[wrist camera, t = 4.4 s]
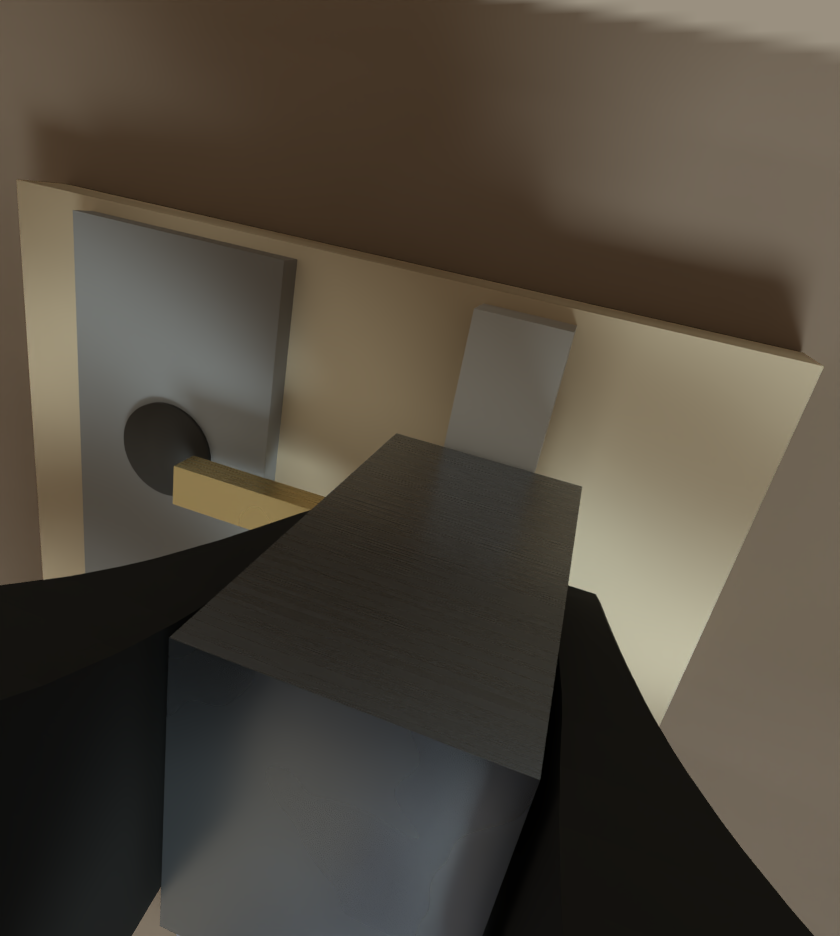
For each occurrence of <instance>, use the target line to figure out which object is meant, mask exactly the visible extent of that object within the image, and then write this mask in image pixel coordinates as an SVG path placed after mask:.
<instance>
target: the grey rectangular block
mask: <svg viewBox="0 0 840 936" xmlns="http://www.w3.org/2000/svg"><path fill="white" fill-rule="evenodd" d="M581 492H582V486H579V485H575V484H572V483H568V482H565V481H561V480H558V479H554V478H551V477H547V476H544V475H540V474H537V473H533V472H530V471H526V470H523V469H519V468H516V467H512V466H509V465H505V464H502V463H498V462H495V461H492V460H488V459H485V458H481V457H478V456H474V455H471V454H467V453H464V452H460V451H457V450H453V449H450V448H446V447H443V446H439V445H436V444H432V443H429V442H425V441H422V440H418V439H415V438H411V437H408V436H404V435H401V434H397V433H396V434H395V435H394V436H393V437H392V438H390V439H389V440H388V441H387V442H386V443H385V444H384V445H383V446H382V447H380V448H379V449H378V450H377V451H376V452H375V453H374V454H373V455H372V456H370V457H369V458H368V459H367V460H366V461H365V462H364V463H363V464H362V465H360V466H359V467H358V468H357V469H356V470H355V471H354V472H353V473H352V474H350V475H349V476H348V477H347V478H346V479H345V480H344V481H343V482H342V483H340V484H339V485H338V486H337V487H336V488H335V489H334V490H333V491H332V492H330V493H329V494H328V495H327V496H326V497H324V496H320V495H317V494H314V493H311V492H308V491H305V490H301V489H298V488H295V487H292V486H289V485H286V484H282V483H279V482H276V481H273V480H270V479H267V478H263V477H260V476H257V475H254V474H251V473H248V472H244V471H241V470H238V469H235V468H232V467H229V466H225V465H222V464H219V463H216V462H213V461H210V460H206V459H203V458H200V457H197V456H192V457H190V458H188V459H186V460H184V461H182V462H180V463H178V464H176V465H175V466H174V475H173V504H174V505H177V506H180V507H183V508H186V509H189V510H192V511H195V512H198V513H201V514H204V515H207V516H210V517H213V518H216V519H219V520H222V521H225V522H228V523H231V524H234V525H237V526H240V527H243V528H246V529H249V530H251V529H254V528H257V527H260V526H263V525H266V524H269V523H272V522H275V521H278V520H281V519H284V518H287V517H290V516H293V515H296V514H299V513H302V512H305V511H309V510H310V511H309V512H308V513H307V514H306V515H305V516H304V517H303V518H302V519H300V520H299V521H298V522H297V523H296V524H295V525H294V526H293V527H292V528H290V529H289V530H288V531H287V532H286V533H285V534H284V535H283V536H282V537H280V538H279V539H278V540H277V541H276V542H275V543H274V544H273V545H271V546H270V547H269V548H268V549H267V550H266V551H265V552H264V553H263V554H261V555H260V556H259V557H258V558H257V559H256V560H255V561H254V562H253V563H251V564H250V565H249V566H248V567H247V568H246V569H245V570H244V571H243V572H241V573H240V574H239V575H238V576H237V577H236V578H235V579H234V580H233V581H231V582H230V583H229V584H228V585H227V586H226V587H225V588H224V589H223V590H221V591H220V592H219V593H218V594H217V595H216V596H215V597H214V598H213V599H211V600H210V601H209V602H208V603H207V604H206V605H205V606H204V607H203V608H201V609H200V610H199V611H198V612H197V613H196V614H195V615H194V616H193V617H191V618H190V619H189V620H188V621H187V622H186V623H185V624H184V625H183V626H181V627H180V628H179V629H178V630H177V631H176V632H175V633H174V634H173V635H171V636H170V637H169V654H168V686H167V719H166V751H165V783H164V815H163V848H162V880H161V912H160V926H161V927H163V928H165V929H167V930H169V931H171V932H173V933H175V934H177V935H179V936H482V935H483V932H484V930H485V927H486V924H487V922H488V919H489V916H490V914H491V911H492V908H493V906H494V903H495V900H496V898H497V895H498V892H499V889H500V887H501V884H502V881H503V879H504V876H505V873H506V871H507V868H508V865H509V863H510V860H511V857H512V855H513V852H514V849H515V846H516V844H517V841H518V838H519V836H520V833H521V830H522V828H523V825H524V822H525V820H526V817H527V814H528V812H529V809H530V806H531V803H532V801H533V798H534V795H535V793H536V790H537V787H538V785H539V782H540V778H541V771H542V764H543V757H544V750H545V743H546V736H547V729H548V722H549V715H550V708H551V701H552V694H553V687H554V680H555V673H556V666H557V659H558V652H559V645H560V638H561V631H562V624H563V617H564V610H565V603H566V596H567V589H568V582H569V575H570V568H571V561H572V554H573V548H574V541H575V534H576V527H577V520H578V513H579V506H580V499H581Z"/></svg>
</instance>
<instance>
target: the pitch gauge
mask: <svg viewBox="0 0 840 936" xmlns="http://www.w3.org/2000/svg"><path fill="white" fill-rule="evenodd" d="M16 181H17V196H18V211H19V226H20V241H21V256H22V271H23V286H24V301H25V316H26V331H27V345H28V360H29V375H30V390H31V405H32V420H33V435H34V450H35V465H36V480H37V495H38V510H39V525H40V539H41V554H42V569H43V580H45V579H52V578H60V577H67V576H73V575H78V574H84V573H89V572H94V571H99V570H104V569H109V568H115V567H120V566H124V565H129V564H133V563H137V562H142V561H146V560H150V559H154V558H158V557H162V556H165V555H169V554H172V553H176V552H179V551H183V550H186V549H190V548H193V547H197V546H200V545H204V544H207V543H211V542H214V541H218V540H221V539H224V538H227V537H230V536H233V535H236V534H239V533H242V532H245V531H248V530H249V529H246V528H243V527H240V526H237V525H234V524H231V523H228V522H225V521H222V520H219V519H216V518H213V517H210V516H207V515H204V514H201V513H198V512H195V511H192V510H189V509H186V508H183V507H180V506H177V505H174V504H173V475H174V466H175V465H176V464H178V463H180V462H182V461H184V460H186V459H188V458H190V457H192V456H197V457H200V458H203V459H206V460H210V461H213V462H216V463H219V464H222V465H225V466H229V467H232V468H235V469H238V470H241V471H244V472H248V473H251V474H254V475H257V476H260V477H263V478H267V479H270V480H273V481H276V482H279V483H282V484H286V485H289V486H292V487H295V488H298V489H301V490H305V491H308V492H311V493H314V494H317V495H320V496H324V497H326V496H327V495H328V494H329V493H330V492H332V491H333V490H334V489H335V488H336V487H337V486H338V485H339V484H340V483H342V482H343V481H344V480H345V479H346V478H347V477H348V476H349V475H350V474H352V473H353V472H354V471H355V470H356V469H357V468H358V467H359V466H360V465H362V464H363V463H364V462H365V461H366V460H367V459H368V458H369V457H370V456H372V455H373V454H374V453H375V452H376V451H377V450H378V449H379V448H380V447H382V446H383V445H384V444H385V443H386V442H387V441H388V440H389V439H390V438H392V437H393V436H394V435H395V434H396V433H397V434H401V435H404V436H408V437H411V438H415V439H418V440H422V441H425V442H429V443H432V444H436V445H439V446H443V447H446V448H450V449H453V450H457V451H460V452H464V453H467V454H471V455H474V456H478V457H481V458H485V459H488V460H492V461H495V462H498V463H502V464H505V465H509V466H512V467H516V468H519V469H523V470H526V471H530V472H533V473H537V474H540V475H544V476H547V477H551V478H554V479H558V480H561V481H565V482H568V483H572V484H575V485H579V486H582V492H581V499H580V506H579V513H578V520H577V527H576V534H575V541H574V548H573V554H572V561H571V568H570V575H569V582H568V585H569V586H572V587H575V588H578V589H581V590H585V591H588V592H591V593H594V594H596V595H597V597H598V599H599V601H600V603H601V605H602V608H603V610H604V613H605V615H606V618H607V620H608V623H609V625H610V628H611V630H612V632H613V635H614V637H615V639H616V642H617V644H618V646H619V648H620V651H621V653H622V655H623V657H624V659H625V662H626V664H627V666H628V668H629V670H630V672H631V674H632V676H633V678H634V680H635V682H636V684H637V686H638V688H639V690H640V692H641V694H642V696H643V698H644V700H645V702H646V704H647V706H648V707H649V709H650V711H651V713H652V715H653V717H654V719H655V720H656V722H657V724H658V726H660V724H661V721H662V719H663V717H664V715H665V713H666V710H667V708H668V706H669V704H670V702H671V700H672V697H673V695H674V693H675V691H676V689H677V686H678V684H679V682H680V680H681V678H682V675H683V673H684V671H685V669H686V667H687V665H688V662H689V660H690V658H691V656H692V654H693V651H694V649H695V647H696V645H697V643H698V641H699V638H700V636H701V634H702V632H703V630H704V627H705V625H706V623H707V621H708V619H709V617H710V614H711V612H712V610H713V608H714V606H715V603H716V601H717V599H718V597H719V595H720V592H721V590H722V588H723V586H724V584H725V582H726V579H727V577H728V575H729V573H730V571H731V568H732V566H733V564H734V562H735V560H736V558H737V555H738V553H739V551H740V549H741V547H742V544H743V542H744V540H745V538H746V536H747V533H748V531H749V529H750V527H751V525H752V523H753V520H754V518H755V516H756V514H757V512H758V509H759V507H760V505H761V503H762V501H763V499H764V496H765V494H766V492H767V490H768V488H769V485H770V483H771V481H772V479H773V477H774V475H775V472H776V470H777V468H778V466H779V464H780V461H781V459H782V457H783V455H784V453H785V450H786V448H787V446H788V444H789V442H790V440H791V437H792V435H793V433H794V431H795V429H796V426H797V424H798V422H799V420H800V418H801V416H802V413H803V411H804V409H805V407H806V405H807V402H808V400H809V398H810V396H811V394H812V391H813V389H814V387H815V385H816V383H817V381H818V378H819V376H820V374H821V372H822V370H823V367H824V366H823V365H821V364H820V363H818V362H817V361H815V360H813V359H812V358H810V357H809V356H807V355H806V354H804V353H802V352H798V351H793V350H789V349H784V348H780V347H776V346H771V345H767V344H763V343H758V342H754V341H750V340H745V339H741V338H736V337H732V336H728V335H723V334H719V333H715V332H710V331H706V330H701V329H697V328H693V327H688V326H684V325H680V324H675V323H671V322H667V321H662V320H658V319H653V318H649V317H645V316H640V315H636V314H632V313H627V312H623V311H618V310H614V309H610V308H605V307H601V306H597V305H592V304H588V303H584V302H579V301H575V300H570V299H566V298H562V297H557V296H553V295H549V294H544V293H540V292H535V291H531V290H527V289H522V288H518V287H514V286H509V285H505V284H500V283H496V282H492V281H487V280H483V279H479V278H474V277H470V276H466V275H461V274H457V273H452V272H448V271H444V270H439V269H435V268H431V267H426V266H422V265H417V264H413V263H409V262H404V261H400V260H396V259H391V258H387V257H383V256H378V255H374V254H369V253H365V252H361V251H356V250H352V249H348V248H343V247H339V246H334V245H330V244H326V243H321V242H317V241H313V240H308V239H304V238H300V237H295V236H291V235H286V234H282V233H278V232H273V231H269V230H265V229H260V228H256V227H251V226H247V225H243V224H238V223H234V222H230V221H225V220H221V219H216V218H212V217H208V216H203V215H199V214H195V213H190V212H186V211H182V210H177V209H173V208H168V207H164V206H160V205H155V204H151V203H147V202H142V201H138V200H133V199H129V198H125V197H120V196H116V195H112V194H107V193H103V192H99V191H94V190H90V189H85V188H81V187H77V186H72V185H68V184H62V183H51V182H40V181H28V180H17V179H16Z"/></svg>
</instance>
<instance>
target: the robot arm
mask: <svg viewBox="0 0 840 936" xmlns="http://www.w3.org/2000/svg"><path fill="white" fill-rule="evenodd" d="M309 511H310V510H309ZM309 511H305V512H302V513H299V514H296V515H293V516H290V517H287V518H284V519H281V520H278V521H275V522H272V523H269V524H266V525H263V526H260V527H257V528H254V529H251V530H248V531H245V532H242V533H239V534H236V535H233V536H230V537H227V538H224V539H221V540H218V541H214V542H211V543H207V544H204V545H200V546H197V547H193V548H190V549H186V550H183V551H179V552H176V553H172V554H169V555H165V556H162V557H158V558H154V559H150V560H146V561H142V562H137V563H133V564H129V565H124V566H120V567H115V568H109V569H104V570H99V571H94V572H89V573H84V574H78V575H73V576H67V577H60V578H52V579H45V580H38V581H30V582H23V583H15V584H8V585H0V936H132V934H133V933H134V931H135V929H136V928H137V926H138V924H139V922H140V921H141V919H142V917H143V916H144V914H145V912H146V911H147V909H148V907H149V906H150V904H151V902H152V901H153V899H154V897H155V896H156V894H157V892H158V891H159V889H160V887H161V880H162V848H163V815H164V783H165V751H166V719H167V686H168V654H169V637H170V636H171V635H173V634H174V633H175V632H176V631H177V630H178V629H179V628H180V627H181V626H183V625H184V624H185V623H186V622H187V621H188V620H189V619H190V618H191V617H193V616H194V615H195V614H196V613H197V612H198V611H199V610H200V609H201V608H203V607H204V606H205V605H206V604H207V603H208V602H209V601H210V600H211V599H213V598H214V597H215V596H216V595H217V594H218V593H219V592H220V591H221V590H223V589H224V588H225V587H226V586H227V585H228V584H229V583H230V582H231V581H233V580H234V579H235V578H236V577H237V576H238V575H239V574H240V573H241V572H243V571H244V570H245V569H246V568H247V567H248V566H249V565H250V564H251V563H253V562H254V561H255V560H256V559H257V558H258V557H259V556H260V555H261V554H263V553H264V552H265V551H266V550H267V549H268V548H269V547H270V546H271V545H273V544H274V543H275V542H276V541H277V540H278V539H279V538H280V537H282V536H283V535H284V534H285V533H286V532H287V531H288V530H289V529H290V528H292V527H293V526H294V525H295V524H296V523H297V522H298V521H299V520H300V519H302V518H303V517H304V516H305V515H306V514H307V513H308V512H309ZM177 936H179V935H177ZM482 936H814V935H813V934H812V933H811V932H810V931H809V929H808V928H807V927H806V926H805V925H804V924H803V923H802V921H801V920H800V919H799V918H798V917H797V916H796V914H795V913H794V912H793V911H792V910H791V909H790V907H789V906H788V905H787V904H786V902H785V901H784V900H783V899H782V898H781V896H780V895H779V894H778V893H777V891H776V890H775V889H774V888H773V886H772V885H771V884H770V883H769V881H768V880H767V879H766V878H765V877H764V875H763V874H762V873H761V872H760V870H759V869H758V868H757V867H756V865H755V864H754V863H753V862H752V860H751V859H750V858H749V857H748V856H747V854H746V853H745V852H744V851H743V849H742V848H741V847H740V845H739V844H738V843H737V841H736V840H735V839H734V837H733V836H732V835H731V833H730V832H729V831H728V829H727V828H726V827H725V826H724V824H723V823H722V821H721V820H720V819H719V817H718V816H717V814H716V813H715V812H714V810H713V809H712V807H711V806H710V804H709V803H708V802H707V800H706V799H705V797H704V796H703V794H702V793H701V791H700V790H699V789H698V787H697V786H696V784H695V783H694V781H693V780H692V779H691V777H690V776H689V774H688V773H687V771H686V770H685V768H684V767H683V765H682V764H681V762H680V760H679V759H678V757H677V756H676V754H675V753H674V751H673V750H672V748H671V746H670V745H669V743H668V741H667V739H666V738H665V736H664V734H663V732H662V731H661V729H660V727H659V726H658V724H657V722H656V720H655V719H654V717H653V715H652V713H651V711H650V709H649V707H648V706H647V704H646V702H645V700H644V698H643V696H642V694H641V692H640V690H639V688H638V686H637V684H636V682H635V680H634V678H633V676H632V674H631V672H630V670H629V668H628V666H627V664H626V662H625V659H624V657H623V655H622V653H621V651H620V648H619V646H618V644H617V642H616V639H615V637H614V635H613V632H612V630H611V628H610V625H609V623H608V620H607V618H606V615H605V613H604V610H603V608H602V605H601V603H600V601H599V599H598V597H597V595H596V594H594V593H591V592H588V591H585V590H581V589H578V588H575V587H572V586H569V585H568V589H567V596H566V603H565V610H564V617H563V624H562V631H561V638H560V645H559V652H558V659H557V666H556V673H555V680H554V687H553V694H552V701H551V708H550V715H549V722H548V729H547V736H546V743H545V750H544V757H543V764H542V771H541V778H540V782H539V785H538V787H537V790H536V793H535V795H534V798H533V801H532V803H531V806H530V809H529V812H528V814H527V817H526V820H525V822H524V825H523V828H522V830H521V833H520V836H519V838H518V841H517V844H516V846H515V849H514V852H513V855H512V857H511V860H510V863H509V865H508V868H507V871H506V873H505V876H504V879H503V881H502V884H501V887H500V889H499V892H498V895H497V898H496V900H495V903H494V906H493V908H492V911H491V914H490V916H489V919H488V922H487V924H486V927H485V930H484V932H483V935H482Z"/></svg>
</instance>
